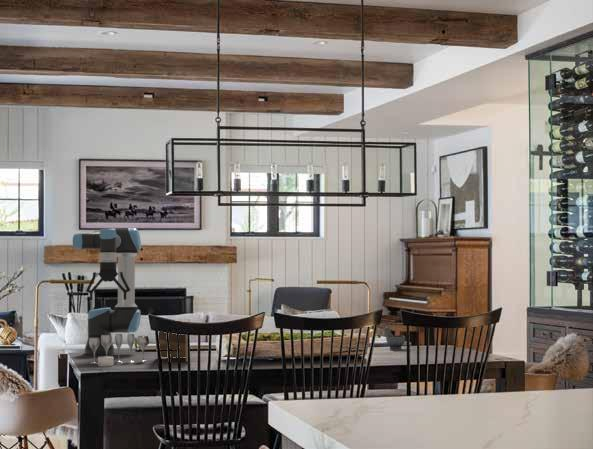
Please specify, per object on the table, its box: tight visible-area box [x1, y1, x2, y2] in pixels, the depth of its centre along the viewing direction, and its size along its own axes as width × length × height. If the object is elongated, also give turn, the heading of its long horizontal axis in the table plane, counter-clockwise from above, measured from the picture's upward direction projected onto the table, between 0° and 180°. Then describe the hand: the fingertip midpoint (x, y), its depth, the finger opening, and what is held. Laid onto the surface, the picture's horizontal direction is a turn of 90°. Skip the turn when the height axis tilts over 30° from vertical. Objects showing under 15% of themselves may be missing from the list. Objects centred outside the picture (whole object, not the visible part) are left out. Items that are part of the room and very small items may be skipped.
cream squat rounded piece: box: [97, 355, 115, 367], centre depth 440 cm, size 7×7×4 cm
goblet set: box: [89, 333, 150, 364], centre depth 454 cm, size 28×6×13 cm, turn 103°
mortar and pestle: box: [383, 326, 406, 351], centre depth 500 cm, size 11×9×12 cm
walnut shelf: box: [159, 318, 191, 363], centre depth 456 cm, size 20×16×19 cm
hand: (108, 307), depth 447 cm, fingers open, 13 cm apart
